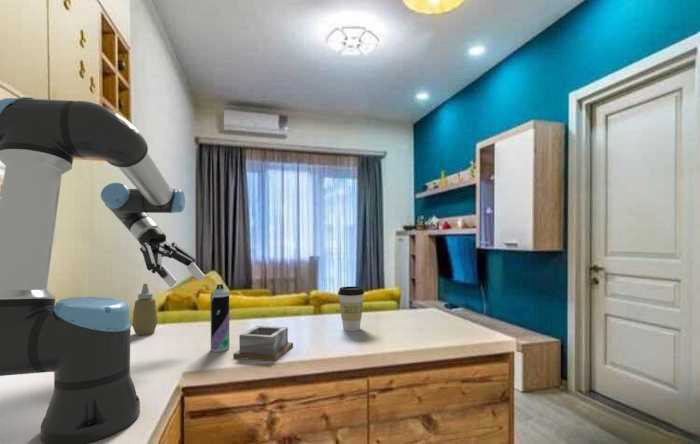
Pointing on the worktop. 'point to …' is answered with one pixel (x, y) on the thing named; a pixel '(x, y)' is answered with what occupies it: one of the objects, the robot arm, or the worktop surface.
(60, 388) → the robot arm
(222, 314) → the spray can
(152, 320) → the squeeze bottle
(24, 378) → the worktop surface
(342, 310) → the coffee cup
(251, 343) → the socket stand
